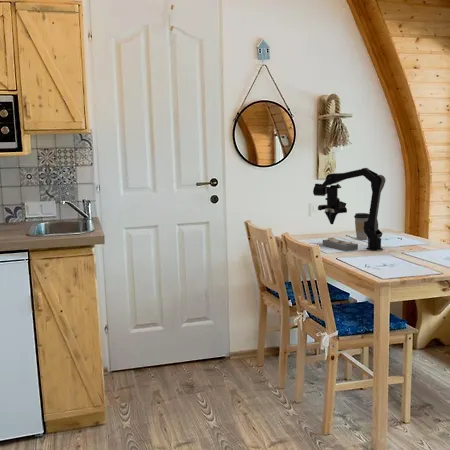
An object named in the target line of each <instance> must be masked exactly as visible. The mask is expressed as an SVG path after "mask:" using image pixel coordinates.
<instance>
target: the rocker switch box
mask: <svg viewBox="0 0 450 450" xmlns="http://www.w3.org/2000/svg"><path fill="white" fill-rule="evenodd" d="M338 240H339V241H340V242H332V241H329V240H328V239H322V246H323V247H327V248H331V247H332V248H331V249H335V250H336V249H337V250H339V251H343V252H350V251H351V252H352V251H357V250H359V244H358V243H354V242H352V244H341V243H342V242H347V241H345V240H342V239H338Z"/></svg>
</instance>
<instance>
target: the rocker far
mask: <svg viewBox="0 0 450 450" xmlns="http://www.w3.org/2000/svg"><path fill="white" fill-rule="evenodd" d="M327 240H329V241H332V242H340V241H339V240H340V239H337V238H335V237H327Z"/></svg>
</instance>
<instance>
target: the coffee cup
mask: <svg viewBox="0 0 450 450" xmlns="http://www.w3.org/2000/svg"><path fill="white" fill-rule="evenodd" d="M353 218H354V226H355V233H356V234H355V235H356V240H360V241H361V240H364V241H365V240H367V239H368V237H367V235H366V234H365V232H364V229H363V227H364V221H366V220H368V218H369V212H368V213H365V212H358V213H355V214H354V216H353Z"/></svg>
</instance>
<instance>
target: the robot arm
mask: <svg viewBox="0 0 450 450" xmlns="http://www.w3.org/2000/svg"><path fill="white" fill-rule="evenodd" d="M362 176H363V177H364V178H365V179H366V180H367V181H369V182H370V187H371V188H370V189H371V192H372V193H371V200H370V205H369V212H368V214H369V218H368V220H366V221H364V227H363V229H364V232H365V234H366V235H367V239H368V240H367V247H365V249H366V250H370V251H374V252H375V251H380V250H381V251H382V250H384V247H382V236H383V234H384V233H383V232H382V231H381V230H380V229H379V220H378V214H379V208H380V200H381V195H382V191H383V188H384V187H385V183H386V180H387V179H386V177H385V176H384V175H382V174H378V173H377V172H375V171H372V170H371V169H369V167H363V168H359V169H355V170H351V171H350V170H349V171H346V172H335V173H334V172H333V173H328V174H327V175H326V176H325V180H324V181H323V183H315V184H314V186H313V190H312V192H313V193H312V195H314V197H315V196H317V197H325V196H326V197H325V201H326V204H320V205H318V206H317V210H318V211H322V210H324V211H323V212H324V213H325V215H326V217H327V219H328V221H329V223H330V225H334V223H335V220H336V218H337V215H338V214H346V213H348V209H347V207H346V206H347V203H346V202H344V201H341V199H340V198H339V197H338V195H339V193H338V189H342V186H341V185H340V184H339V183H340V182H343V181H345V180H349V179H354V178H359V177H362Z"/></svg>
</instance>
